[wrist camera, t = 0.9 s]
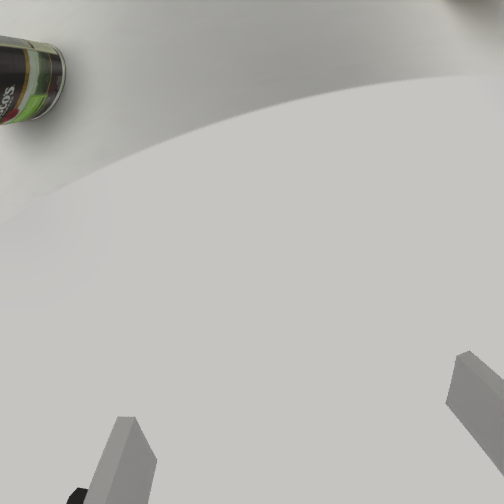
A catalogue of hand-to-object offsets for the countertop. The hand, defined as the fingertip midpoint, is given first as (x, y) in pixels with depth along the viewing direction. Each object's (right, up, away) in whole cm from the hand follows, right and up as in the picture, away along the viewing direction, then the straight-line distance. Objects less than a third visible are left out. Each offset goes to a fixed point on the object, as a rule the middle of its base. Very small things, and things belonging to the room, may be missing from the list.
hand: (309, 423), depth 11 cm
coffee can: (-29, +28, +17) cm, 43 cm away
